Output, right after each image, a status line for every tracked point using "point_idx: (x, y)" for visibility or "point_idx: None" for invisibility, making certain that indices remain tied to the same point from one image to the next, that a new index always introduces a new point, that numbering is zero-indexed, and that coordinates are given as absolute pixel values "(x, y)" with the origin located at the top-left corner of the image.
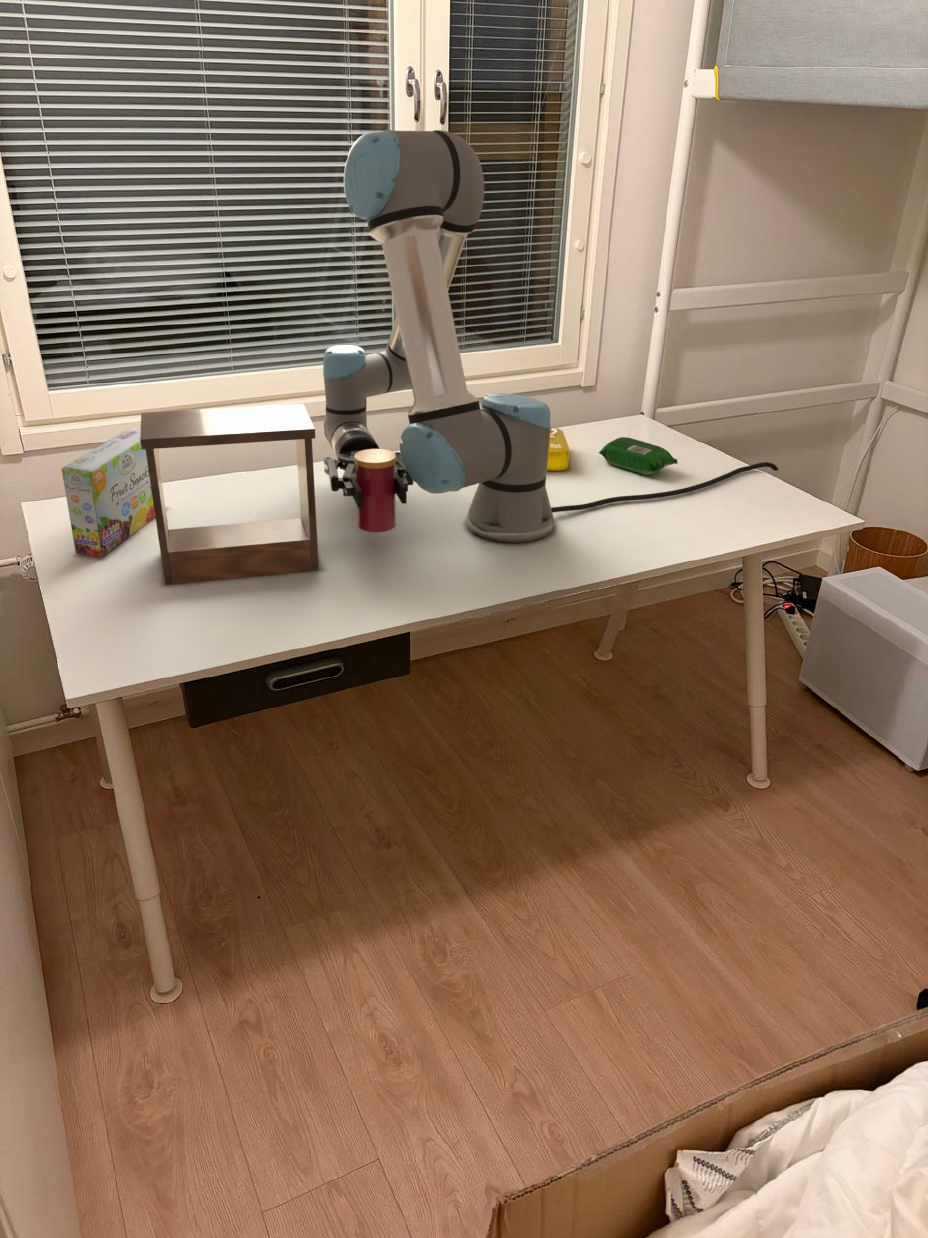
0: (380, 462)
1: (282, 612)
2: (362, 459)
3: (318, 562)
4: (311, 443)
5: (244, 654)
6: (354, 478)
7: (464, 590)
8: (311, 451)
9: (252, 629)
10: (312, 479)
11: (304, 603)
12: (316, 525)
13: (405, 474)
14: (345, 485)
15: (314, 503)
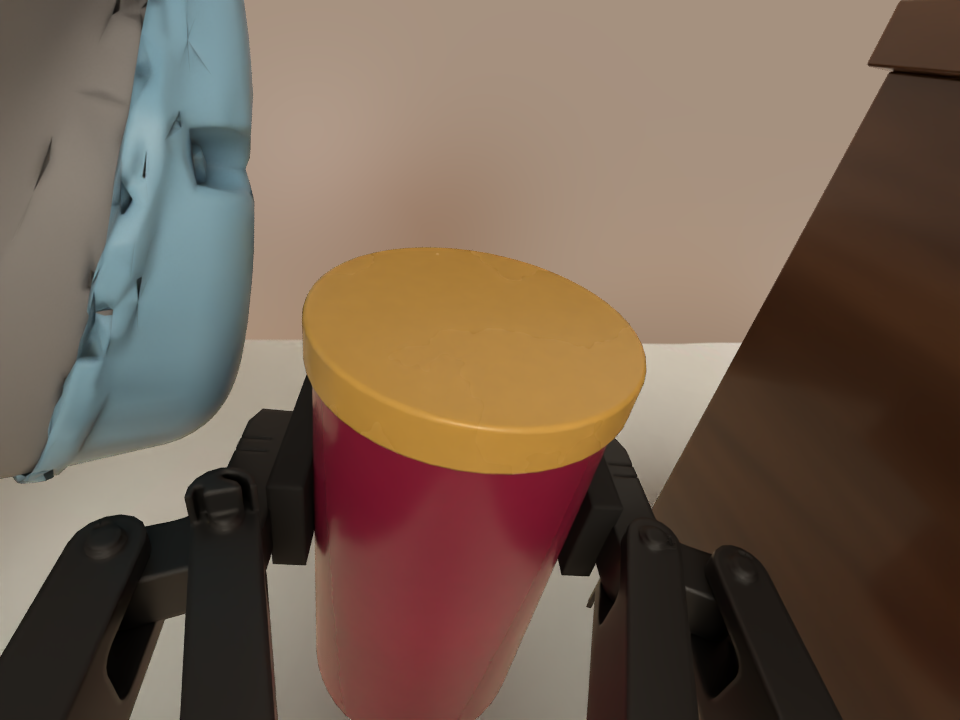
0: (463, 250)
1: (662, 415)
2: (575, 298)
3: None
4: (873, 104)
5: (682, 347)
6: (591, 483)
7: (260, 384)
8: (849, 151)
9: (696, 388)
10: (776, 289)
11: (626, 429)
12: (683, 451)
13: (170, 542)
14: (632, 469)
15: (723, 381)
